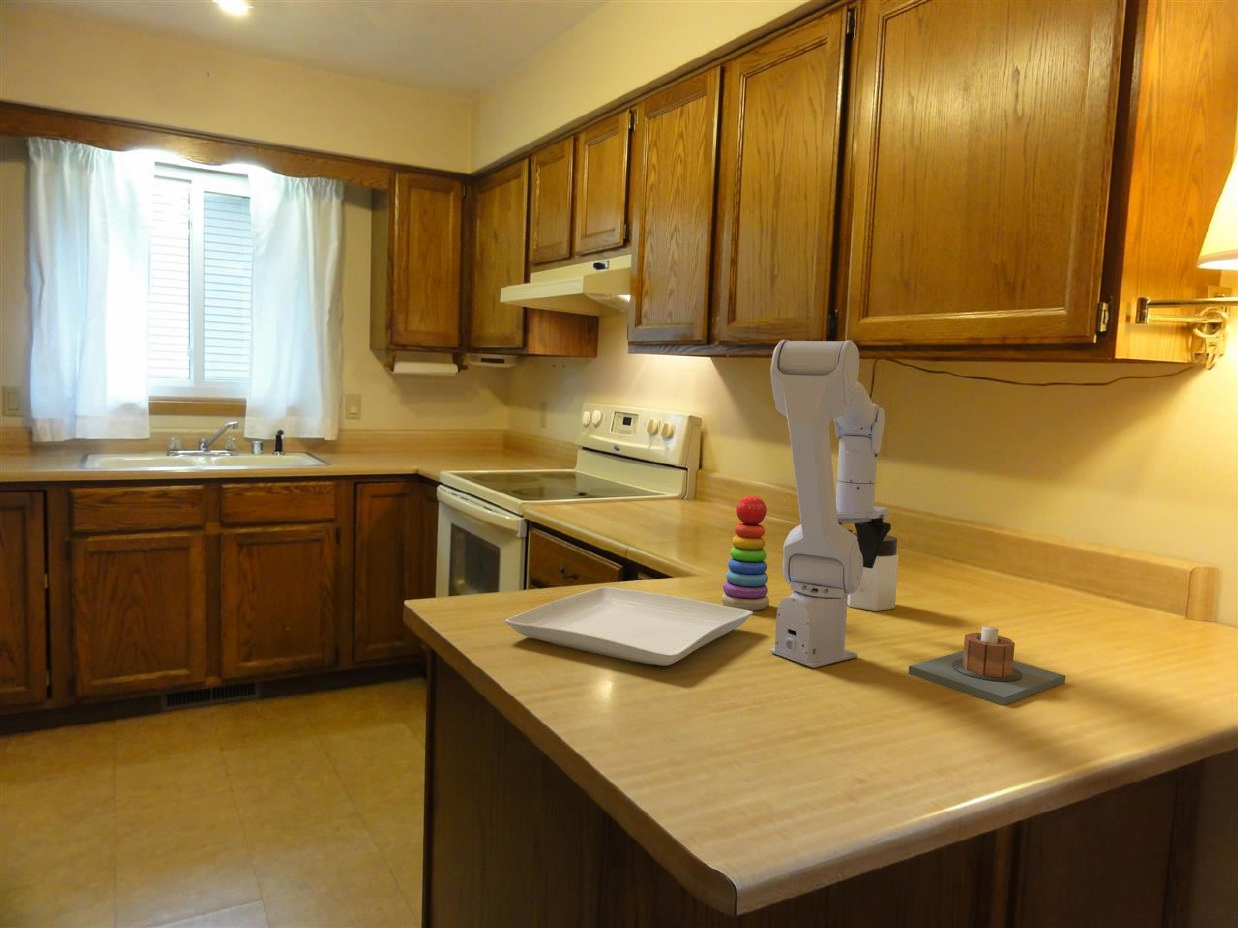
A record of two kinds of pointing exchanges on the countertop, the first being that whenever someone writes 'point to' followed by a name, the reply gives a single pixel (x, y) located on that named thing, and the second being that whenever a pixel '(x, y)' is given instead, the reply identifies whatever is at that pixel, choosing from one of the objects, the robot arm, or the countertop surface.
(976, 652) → the collar
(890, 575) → the jar
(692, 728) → the countertop surface
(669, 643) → the square plate
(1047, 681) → the post board
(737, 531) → the stacking toy
